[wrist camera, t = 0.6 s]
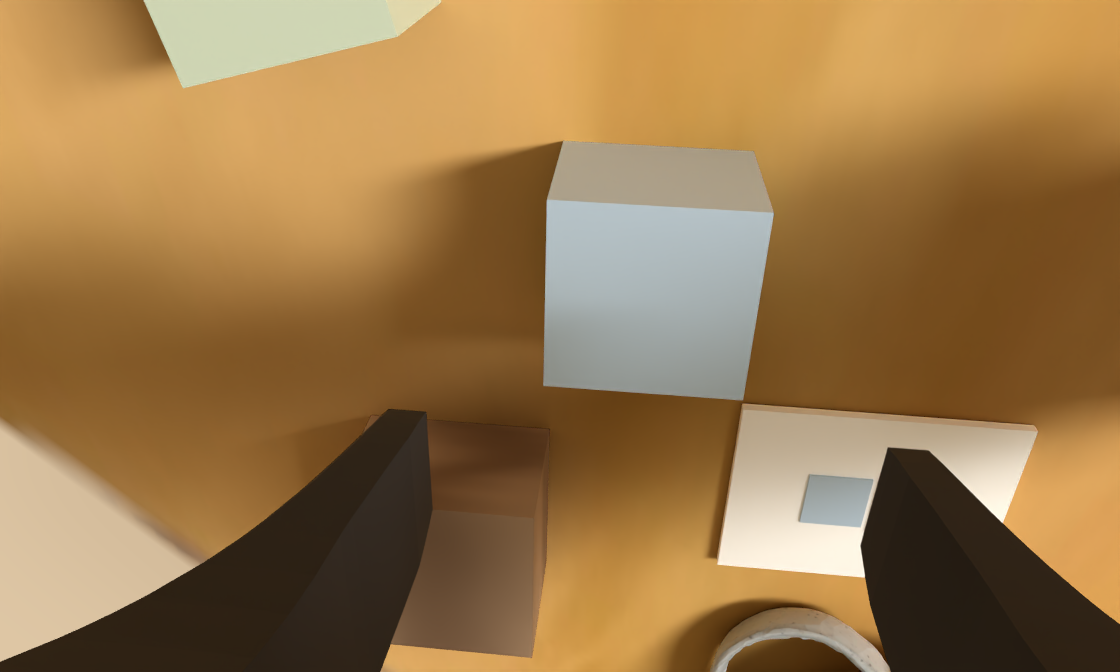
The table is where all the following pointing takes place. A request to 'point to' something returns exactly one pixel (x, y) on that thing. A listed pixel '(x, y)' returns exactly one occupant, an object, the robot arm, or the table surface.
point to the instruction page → (845, 479)
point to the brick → (271, 31)
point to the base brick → (481, 541)
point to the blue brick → (654, 268)
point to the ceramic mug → (800, 636)
